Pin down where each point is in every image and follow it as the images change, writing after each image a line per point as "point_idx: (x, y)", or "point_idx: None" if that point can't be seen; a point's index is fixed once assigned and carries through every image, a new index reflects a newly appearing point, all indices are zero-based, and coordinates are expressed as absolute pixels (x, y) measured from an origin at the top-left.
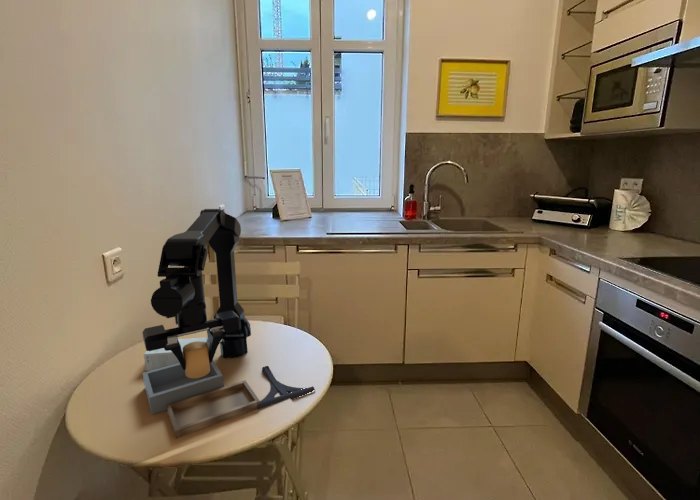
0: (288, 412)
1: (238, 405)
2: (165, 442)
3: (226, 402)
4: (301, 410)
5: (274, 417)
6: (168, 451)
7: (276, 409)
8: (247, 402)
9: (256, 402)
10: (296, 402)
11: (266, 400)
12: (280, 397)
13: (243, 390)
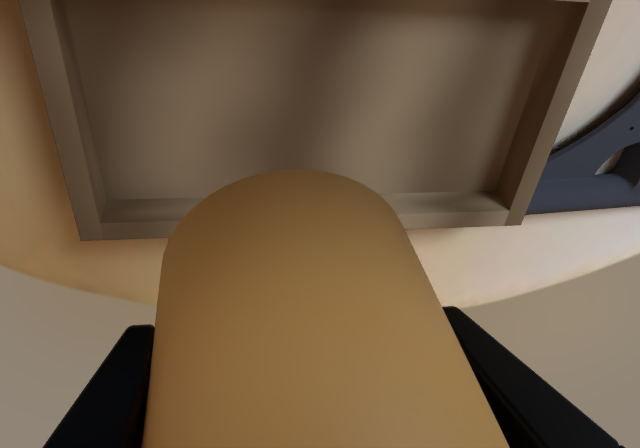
0: (559, 251)
1: (439, 141)
2: (38, 180)
3: (405, 79)
4: (597, 262)
5: (503, 252)
6: (58, 239)
7: (545, 215)
8: (486, 143)
9: (502, 225)
10: (629, 215)
11: (549, 207)
12: (607, 205)
13: (546, 15)
